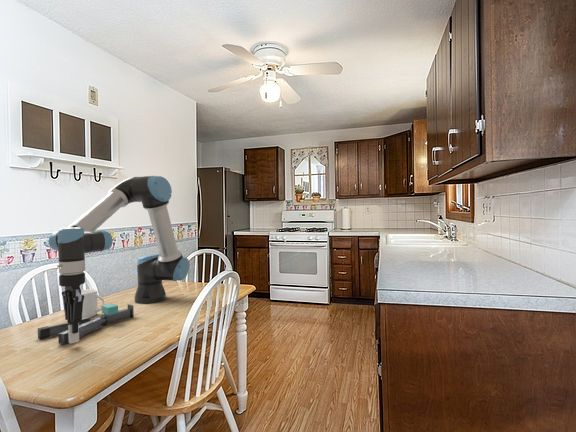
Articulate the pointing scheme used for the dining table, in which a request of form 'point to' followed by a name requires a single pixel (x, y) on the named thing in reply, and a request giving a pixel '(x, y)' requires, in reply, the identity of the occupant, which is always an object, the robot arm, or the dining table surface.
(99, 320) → the tongs jaw
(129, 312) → the tongs body
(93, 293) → the mug
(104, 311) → the tab
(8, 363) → the dining table surface
